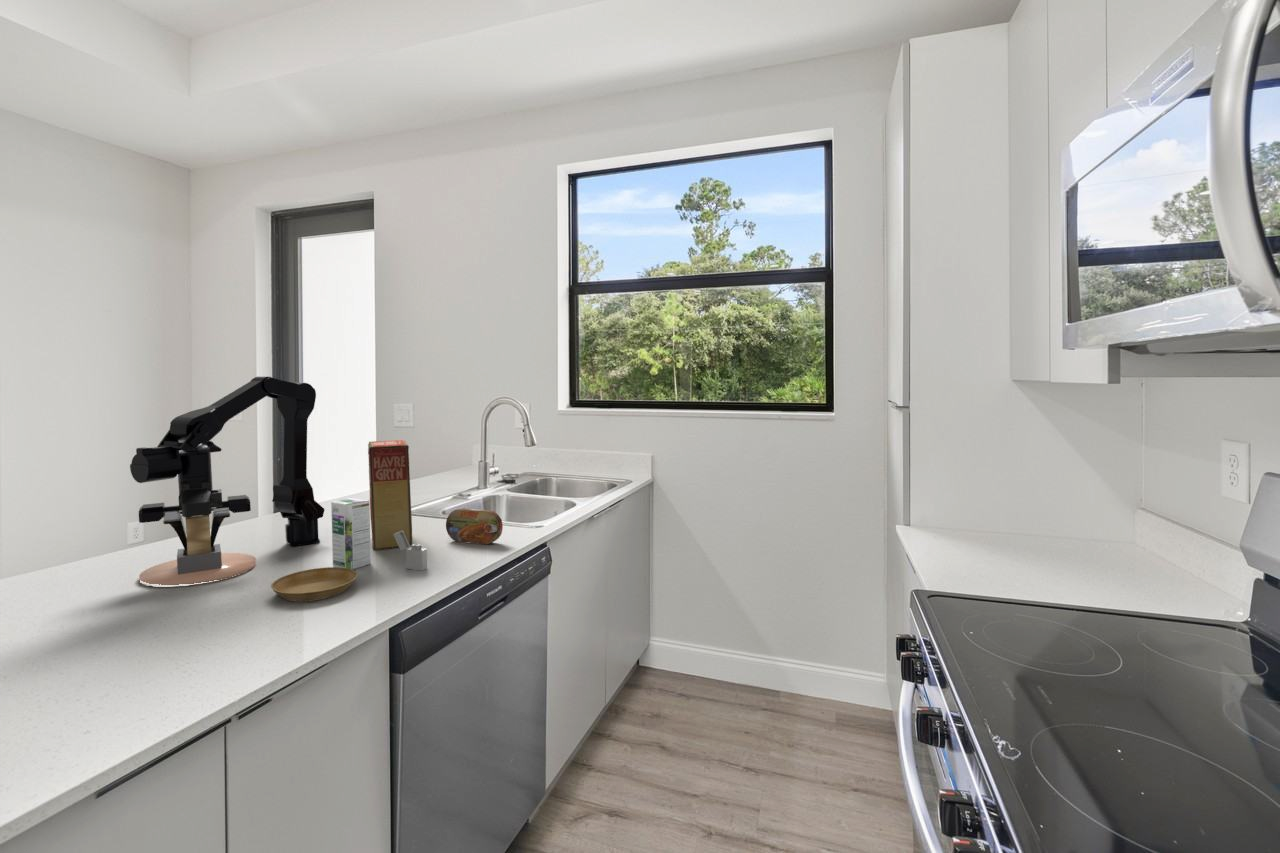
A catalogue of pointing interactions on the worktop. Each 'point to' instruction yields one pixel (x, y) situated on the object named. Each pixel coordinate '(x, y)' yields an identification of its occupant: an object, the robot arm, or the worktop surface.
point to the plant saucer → (314, 583)
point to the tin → (474, 526)
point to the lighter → (412, 552)
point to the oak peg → (198, 534)
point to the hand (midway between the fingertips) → (199, 548)
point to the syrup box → (351, 533)
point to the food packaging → (389, 492)
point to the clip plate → (198, 567)
